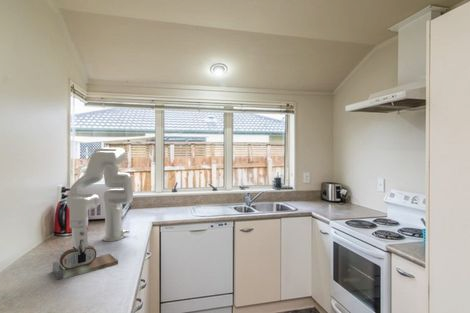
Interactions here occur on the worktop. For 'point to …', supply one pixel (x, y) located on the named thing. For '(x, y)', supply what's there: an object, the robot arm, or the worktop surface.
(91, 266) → the mounting board
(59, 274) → the bracket
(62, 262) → the tin
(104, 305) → the worktop surface
